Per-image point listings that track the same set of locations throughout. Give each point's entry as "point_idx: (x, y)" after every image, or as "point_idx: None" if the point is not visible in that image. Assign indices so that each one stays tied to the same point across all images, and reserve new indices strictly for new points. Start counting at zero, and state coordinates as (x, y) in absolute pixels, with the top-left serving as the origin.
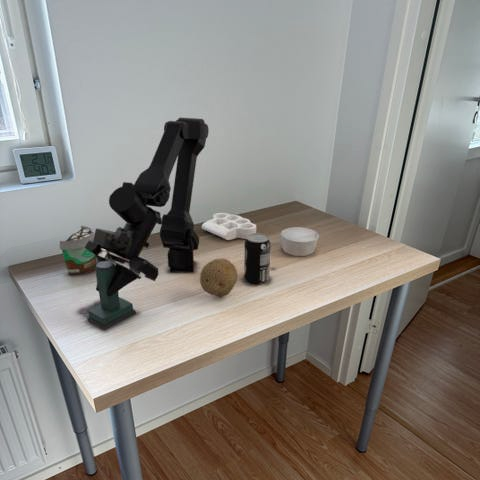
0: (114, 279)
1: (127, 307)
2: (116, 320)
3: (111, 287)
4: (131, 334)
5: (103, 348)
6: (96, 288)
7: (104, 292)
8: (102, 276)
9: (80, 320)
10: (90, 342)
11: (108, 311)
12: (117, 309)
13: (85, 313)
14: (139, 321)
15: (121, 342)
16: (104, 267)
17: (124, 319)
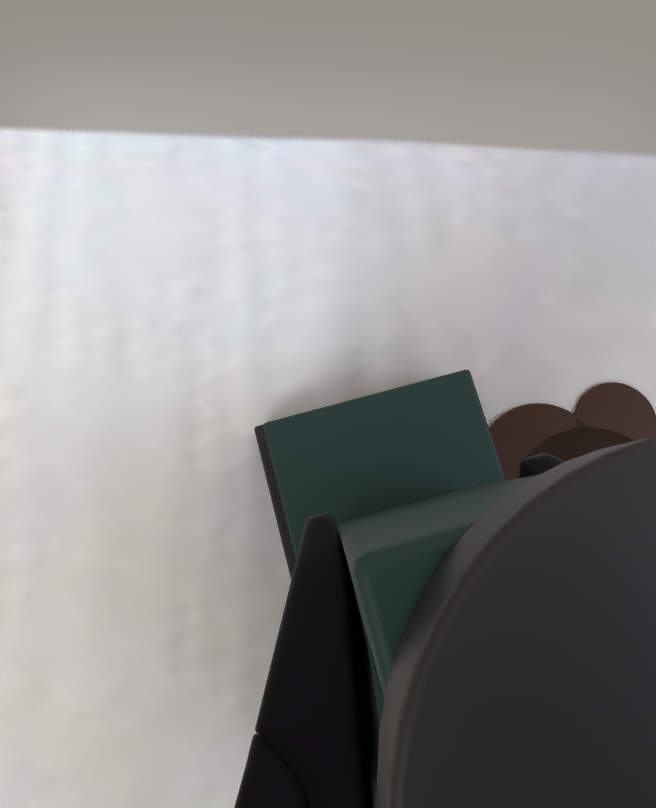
0: (307, 766)
1: None
2: (286, 552)
3: (289, 615)
4: (77, 578)
5: (52, 335)
6: (550, 458)
7: (389, 513)
8: (424, 519)
9: (498, 343)
10: (178, 294)
11: (347, 516)
12: None
13: (575, 409)
14: (209, 729)
15: (32, 466)
16: (459, 682)
17: None
